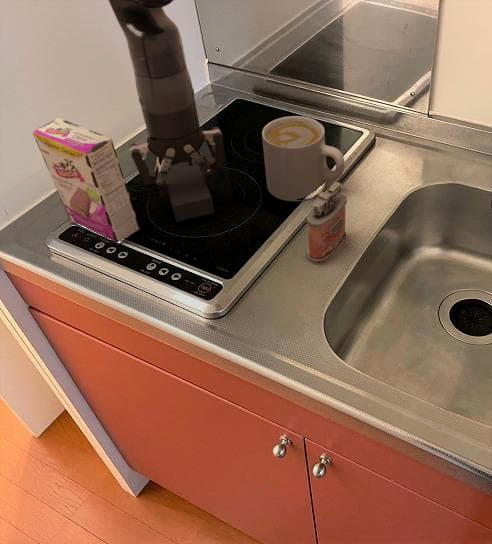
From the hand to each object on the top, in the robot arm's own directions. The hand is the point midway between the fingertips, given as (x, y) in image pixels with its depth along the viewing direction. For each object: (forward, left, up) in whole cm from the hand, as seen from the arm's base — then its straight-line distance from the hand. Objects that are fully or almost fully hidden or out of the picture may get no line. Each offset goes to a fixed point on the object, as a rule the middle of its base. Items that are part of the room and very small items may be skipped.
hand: (188, 195), depth 92 cm
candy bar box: (-14, -1, -2) cm, 14 cm away
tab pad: (0, +2, -1) cm, 2 cm away
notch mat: (0, +11, -2) cm, 11 cm away
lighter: (+17, -18, -2) cm, 25 cm away
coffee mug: (+19, -2, -2) cm, 19 cm away
